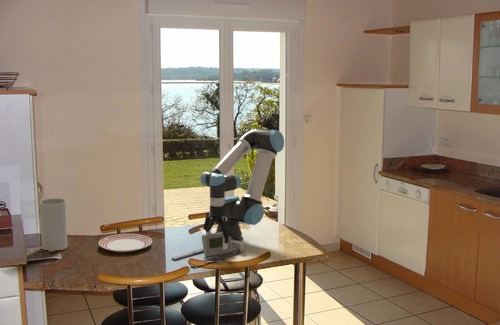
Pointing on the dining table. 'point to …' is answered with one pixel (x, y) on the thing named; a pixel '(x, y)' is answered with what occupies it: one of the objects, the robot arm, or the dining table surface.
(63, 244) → the cylinder vase
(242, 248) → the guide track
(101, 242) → the dinner plate
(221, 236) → the digital clock
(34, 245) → the dining table surface
